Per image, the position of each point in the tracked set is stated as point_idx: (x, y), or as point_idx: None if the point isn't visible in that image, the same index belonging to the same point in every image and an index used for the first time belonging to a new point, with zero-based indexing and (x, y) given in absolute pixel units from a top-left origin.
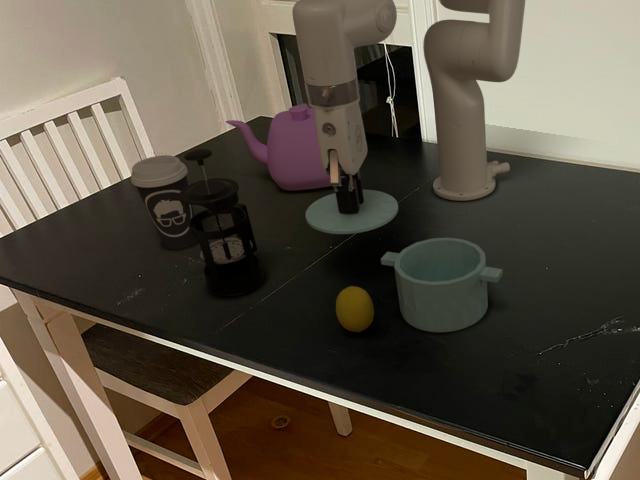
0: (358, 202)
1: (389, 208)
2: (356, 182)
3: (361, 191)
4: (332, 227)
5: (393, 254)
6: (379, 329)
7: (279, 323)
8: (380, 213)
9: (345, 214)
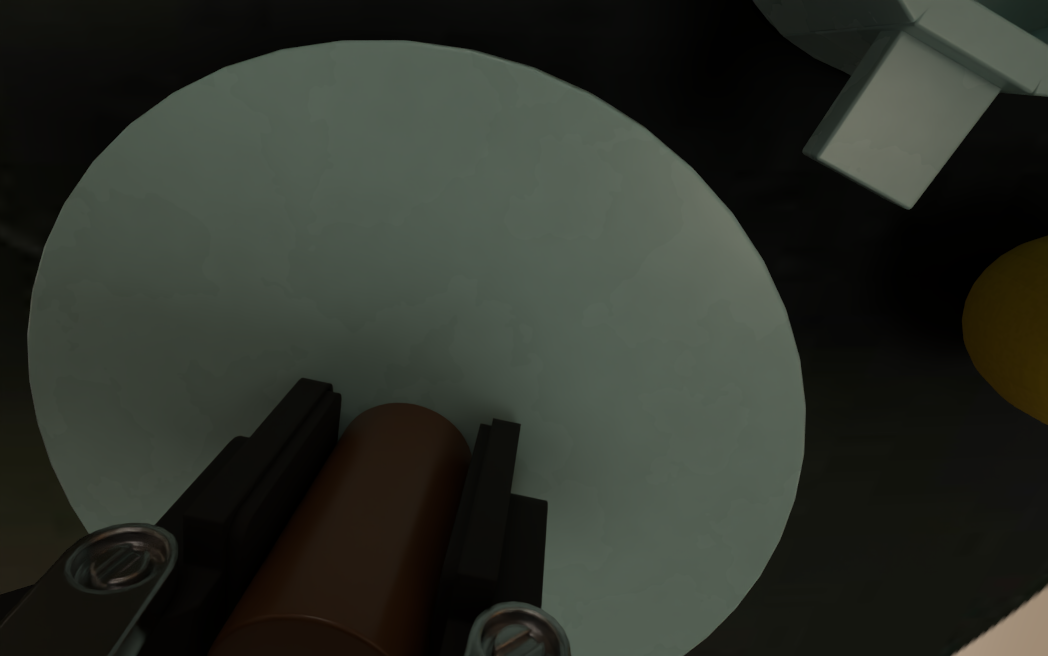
0: (407, 441)
1: (438, 135)
2: (243, 550)
3: (282, 443)
4: (702, 588)
5: (882, 110)
6: (1024, 195)
7: (806, 563)
8: (536, 227)
9: None
